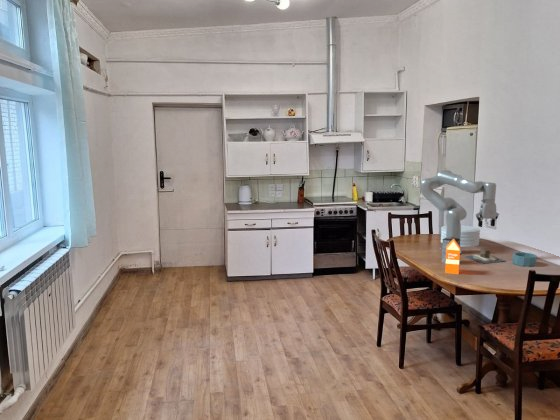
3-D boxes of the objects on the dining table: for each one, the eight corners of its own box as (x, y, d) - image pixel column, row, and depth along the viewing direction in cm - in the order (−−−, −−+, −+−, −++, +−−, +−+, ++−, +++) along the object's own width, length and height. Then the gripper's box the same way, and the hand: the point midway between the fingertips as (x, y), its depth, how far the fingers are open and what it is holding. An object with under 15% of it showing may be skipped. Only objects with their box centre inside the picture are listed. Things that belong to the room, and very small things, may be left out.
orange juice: (445, 272, 274) (446, 240, 271) (445, 269, 282) (446, 237, 279) (458, 274, 271) (460, 241, 268) (458, 270, 279) (460, 238, 276)
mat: (482, 263, 293) (482, 263, 293) (464, 256, 310) (464, 256, 310) (505, 261, 298) (505, 260, 298) (486, 254, 315) (486, 254, 315)
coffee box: (451, 260, 302) (452, 236, 299) (459, 262, 296) (460, 238, 294) (441, 262, 297) (442, 238, 295) (449, 264, 292) (450, 240, 289)
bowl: (523, 267, 284) (524, 258, 283) (508, 262, 297) (508, 253, 296) (540, 265, 288) (541, 256, 287) (524, 260, 300) (525, 251, 299)
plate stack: (432, 240, 360) (433, 226, 359) (459, 237, 371) (460, 224, 369) (459, 248, 335) (460, 233, 333) (487, 244, 346) (488, 230, 344)
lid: (483, 262, 295) (483, 253, 294) (467, 256, 309) (468, 247, 308) (502, 260, 299) (502, 251, 298) (486, 254, 313) (486, 246, 312)
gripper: (481, 202, 295) (478, 228, 298) (503, 201, 299) (501, 227, 302) (473, 200, 302) (471, 225, 305) (495, 200, 306) (493, 224, 309)
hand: (486, 226), depth 304 cm, fingers open, 9 cm apart
